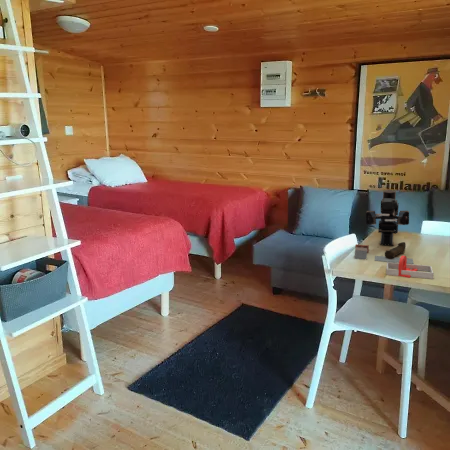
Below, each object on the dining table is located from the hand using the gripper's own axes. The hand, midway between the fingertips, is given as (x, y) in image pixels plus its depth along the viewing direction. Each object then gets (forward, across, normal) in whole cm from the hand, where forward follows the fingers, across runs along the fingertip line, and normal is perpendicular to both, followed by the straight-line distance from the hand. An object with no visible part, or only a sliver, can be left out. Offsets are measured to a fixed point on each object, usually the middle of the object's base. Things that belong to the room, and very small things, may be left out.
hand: (386, 222), depth 197 cm
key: (-1, -11, +15) cm, 19 cm away
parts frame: (+21, +10, +15) cm, 28 cm away
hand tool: (-5, +4, +17) cm, 18 cm away
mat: (+4, +3, +16) cm, 17 cm away
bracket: (+21, +9, +16) cm, 28 cm away
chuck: (+5, -11, +15) cm, 19 cm away
